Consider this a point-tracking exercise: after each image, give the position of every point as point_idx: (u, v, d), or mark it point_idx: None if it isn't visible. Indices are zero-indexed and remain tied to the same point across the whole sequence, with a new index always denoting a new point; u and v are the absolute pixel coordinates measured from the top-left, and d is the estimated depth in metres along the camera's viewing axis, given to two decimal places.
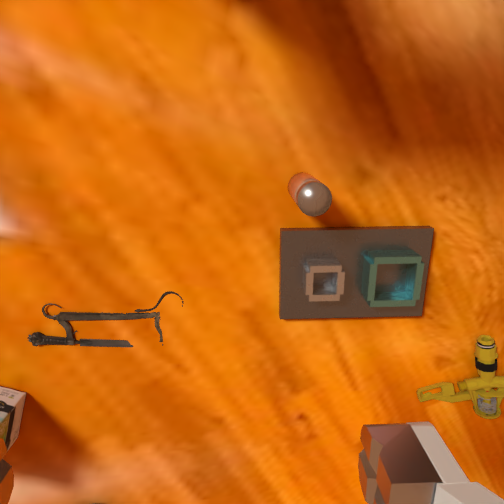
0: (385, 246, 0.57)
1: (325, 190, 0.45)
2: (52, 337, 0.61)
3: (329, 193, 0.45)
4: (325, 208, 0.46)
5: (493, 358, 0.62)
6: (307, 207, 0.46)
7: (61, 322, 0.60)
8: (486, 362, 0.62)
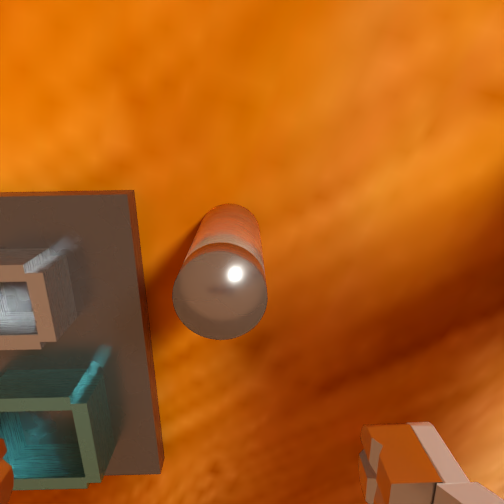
0: (116, 403, 0.28)
1: (245, 323, 0.17)
2: None
3: (237, 333, 0.17)
4: (196, 326, 0.17)
5: None
6: (196, 279, 0.16)
7: None
8: None
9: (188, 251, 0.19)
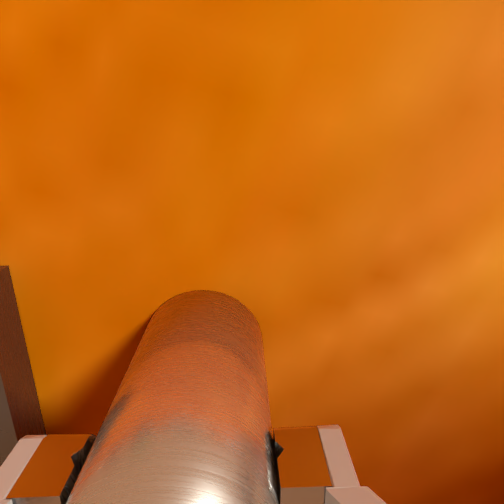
0: None
1: None
2: None
3: None
4: None
5: None
6: None
7: None
8: None
9: None
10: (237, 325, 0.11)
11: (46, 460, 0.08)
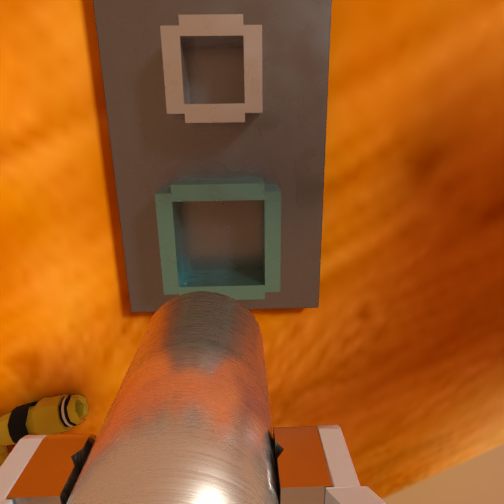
0: (285, 220, 0.27)
1: None
2: None
3: None
4: None
5: (42, 433, 0.31)
6: None
7: None
8: (30, 424, 0.31)
9: None
10: (237, 326, 0.11)
11: (46, 460, 0.08)
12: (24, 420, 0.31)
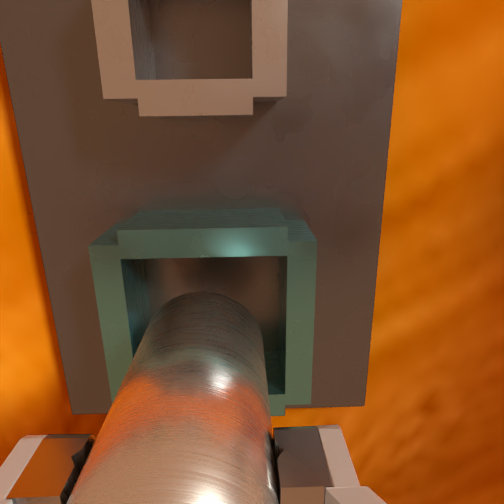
0: (316, 277, 0.17)
1: None
2: None
3: None
4: None
5: None
6: None
7: None
8: None
9: None
10: (237, 326, 0.11)
11: (46, 460, 0.08)
12: None
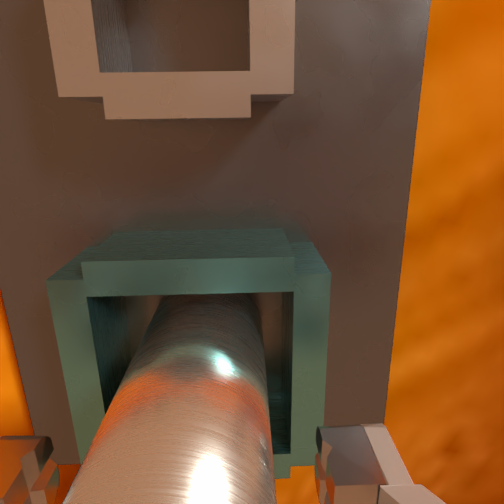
0: None
1: None
2: None
3: None
4: None
5: None
6: None
7: None
8: None
9: (82, 462, 0.07)
10: (238, 311, 0.12)
11: None
12: None
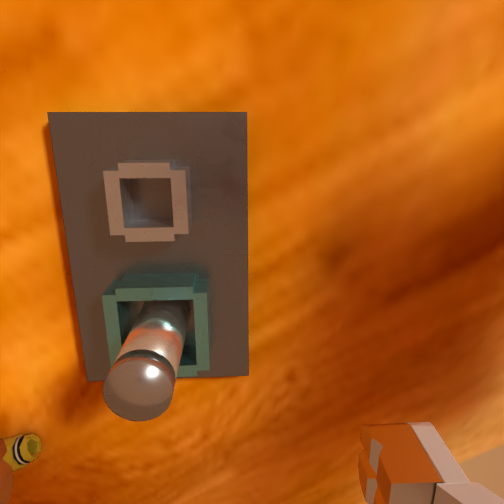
0: (217, 306, 0.32)
1: (157, 409, 0.23)
2: None
3: (152, 416, 0.23)
4: (121, 412, 0.23)
5: None
6: (120, 380, 0.22)
7: None
8: None
9: (121, 349, 0.25)
10: (175, 307, 0.30)
11: None
12: None
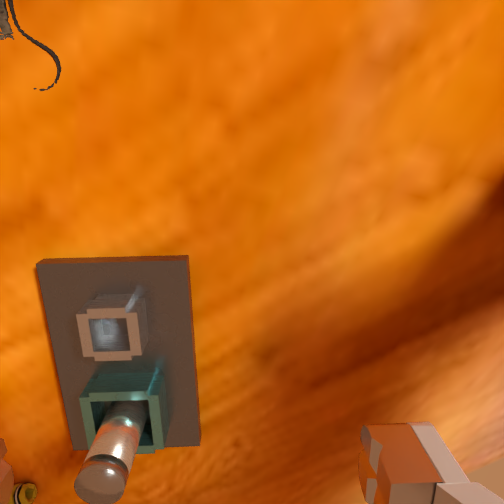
0: (171, 396, 0.41)
1: (113, 498, 0.32)
2: None
3: (110, 502, 0.33)
4: (88, 499, 0.32)
5: None
6: (86, 480, 0.32)
7: None
8: None
9: None
10: (137, 401, 0.39)
11: None
12: None
